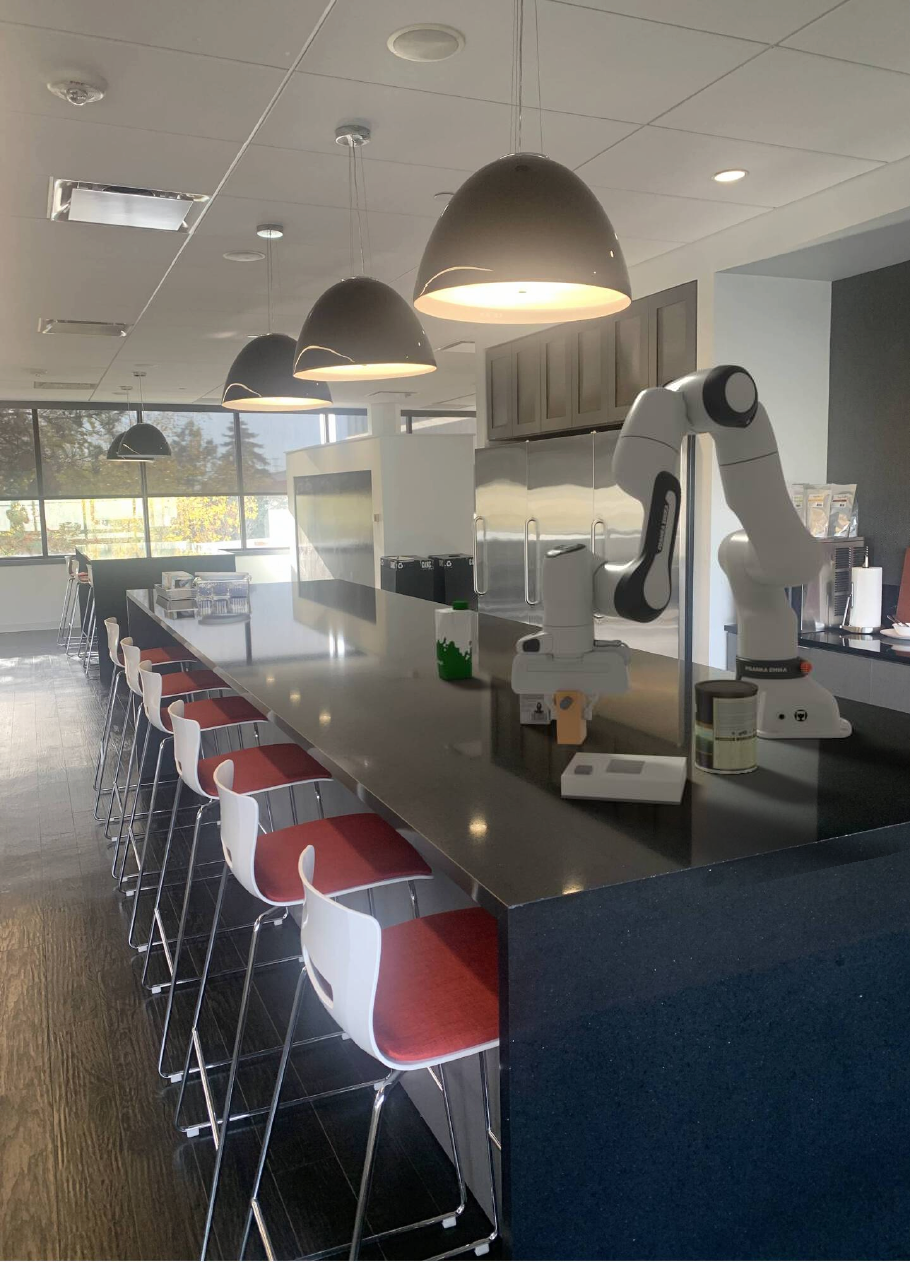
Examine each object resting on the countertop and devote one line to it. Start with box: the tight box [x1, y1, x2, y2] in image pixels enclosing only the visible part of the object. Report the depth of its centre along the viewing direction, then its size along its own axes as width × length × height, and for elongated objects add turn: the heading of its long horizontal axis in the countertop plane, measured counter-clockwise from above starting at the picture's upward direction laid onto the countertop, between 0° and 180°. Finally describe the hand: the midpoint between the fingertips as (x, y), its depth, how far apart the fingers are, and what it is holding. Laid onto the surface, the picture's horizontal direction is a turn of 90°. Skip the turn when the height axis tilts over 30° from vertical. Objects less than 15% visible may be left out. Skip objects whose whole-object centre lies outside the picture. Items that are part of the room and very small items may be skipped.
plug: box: [555, 691, 587, 745], centre depth 162 cm, size 4×9×9 cm, turn 163°
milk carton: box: [434, 600, 473, 681], centre depth 249 cm, size 9×9×20 cm
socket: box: [560, 751, 687, 806], centre depth 151 cm, size 18×14×4 cm
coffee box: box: [517, 652, 555, 725], centre depth 198 cm, size 9×6×16 cm
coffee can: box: [694, 679, 758, 775], centre depth 159 cm, size 10×10×14 cm
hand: (571, 719), depth 163 cm, fingers closed on plug, 4 cm apart
